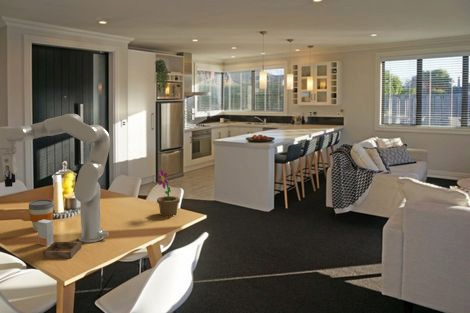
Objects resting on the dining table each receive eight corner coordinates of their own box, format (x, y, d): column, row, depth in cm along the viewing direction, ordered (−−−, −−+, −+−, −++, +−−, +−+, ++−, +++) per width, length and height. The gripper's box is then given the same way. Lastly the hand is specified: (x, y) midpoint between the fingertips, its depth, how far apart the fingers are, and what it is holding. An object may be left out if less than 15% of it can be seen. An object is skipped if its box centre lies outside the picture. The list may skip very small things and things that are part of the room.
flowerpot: (152, 213, 250) (152, 168, 245) (171, 209, 259) (171, 165, 255) (165, 219, 239) (164, 171, 235) (184, 214, 249) (184, 168, 245)
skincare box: (38, 244, 195) (36, 221, 193) (44, 241, 199) (43, 219, 197) (47, 246, 193) (46, 223, 191) (54, 243, 197) (52, 220, 195)
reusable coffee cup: (40, 223, 227) (38, 198, 224) (59, 225, 224) (58, 200, 222) (24, 230, 215) (23, 204, 212) (44, 232, 212) (43, 205, 210)
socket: (81, 247, 192) (81, 241, 191) (71, 258, 179) (70, 252, 179) (55, 247, 192) (55, 241, 191) (43, 257, 179) (42, 251, 178)
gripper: (13, 153, 188) (16, 187, 191) (18, 148, 204) (21, 180, 207) (-5, 153, 185) (-2, 188, 188) (2, 149, 201) (5, 181, 204)
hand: (10, 184), depth 197 cm, fingers open, 9 cm apart
